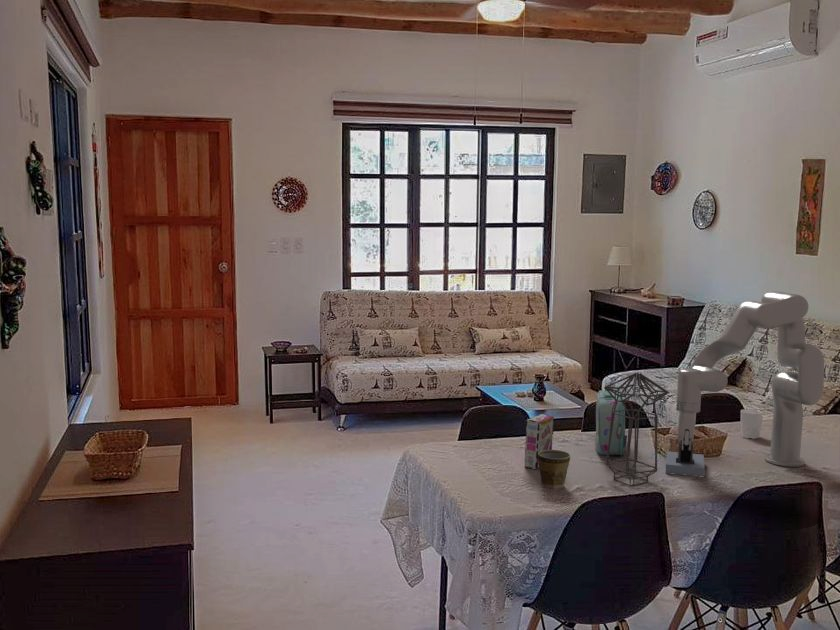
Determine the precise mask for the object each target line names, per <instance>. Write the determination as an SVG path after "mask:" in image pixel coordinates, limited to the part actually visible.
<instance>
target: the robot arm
mask: <svg viewBox="0 0 840 630" xmlns="http://www.w3.org/2000/svg"><path fill="white" fill-rule="evenodd" d="M808 311H809V302H808V300H807V299H806V298H805V297H804V296H802V295H800V294H795V293H788V292H785V291H777V290H776V291H774V290H773V291H768V292H766V293H764V294H763V295H762V297H761V301H757V300H747V301H746V300H745V301H743V302H742V303H741V304H740V305H739V306H738V307H737V309H736V311H735V312H734V313H733V315H732V316H731V318H730V320H729V321H728V324H727V325H726V327H725V328H724V330H723V332H722V334H721V335H720V336H719V337H718V338H716V339H715V340H712V341H711V342H710V343H709V344H708V345H707V346H705V347H704V348H703V349H701V351H700V352H698V355H696V357H695V359H694V361H693V362H692V364H691V366H690V367H689V368H688V367H687V368H681V369H679V371H678V373H677V389H676V407H675V409H676V411H678V412H679V413H678V423H677V441H678V442H679V441H680V440H682V450H681V457H680V461H681V462H690V461H691V450H690V448H691V442H693V443H694V437H695V430H696V421H697V420H696V418H697V414H698V413H700V412H701V404H702V403H701V401H702V400H701V399H702V392H709V393H718V392H721V391H723V390H725V389H726V387H727V385H728V377H727V375H726V374H725V372H723V371H721V370H719V369H717V368H714V367H715V365H717V363H718V362H719V361H720V360H722V359H724V358H726V357H727V356H730V355H734V354H737V353H740V352H742V351H744V350H745V348H746V347H747V345H748V344H749V342H750V340H751V339H752V337H753V335H754V334H755V332H756V331H757V329H758V328H759V329H763V330H771V329H775V328H776V329H777V347H776V348H777V350H776V351H777V352H776V353H777V355H776V356H777V362H778V363H779V365H780V366H781V367H783V368H787V369H790V371H789V370H788V371H787V370H783V371H780V372H778V373H777V374H776V375H775V376H774V377H773V378H772V382H771V393H772V398H773V399H772V401H773V404H772V405H773V406H772V407H773V408H772V409H773V410H772V421H771V422H772V424H771V437H770V449H769V453H767V454H765V456H764V460H765V461H766V462H768V463H769V464H773V465H776V466H779V467H780V466H781V467H789V468H792V467H793V468H795V467H798V468H799V467H802V466H804V465H805V463H806V462H805V459H803V458H802V457H801V448H802V436H803V435H802V434H803V424H804V423H803V422H804V409H803V405H804V406H814V405H816V404H818V403H819V402H820V401H821V399H822V396H823V394H824V386H825V385H824V381H825V356H824V353H823V352H822V350H821V349H820V348H819V347H817V346H816V345H813V344H809V343H806V327H805V322H804V319H803V318H804V317H805V316H806V315H807V314H808ZM791 370H793V371H797V372H793V371H791ZM683 440H685V441H683ZM684 443H685V444H684ZM688 443H689V444H688ZM683 447H684V448H683Z"/></svg>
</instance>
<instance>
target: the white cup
mask: <svg viewBox="0 0 840 630" xmlns="http://www.w3.org/2000/svg"><path fill="white" fill-rule="evenodd" d="M763 414H764V413H763V411H762V410H759V409H754V408H753V409H752V408H744V409H740V436H741V437H742V438H744V437H745V439H749V438H752V439H751V440H757V439H756V438H758V439H760V435H761V430H762V422H763V416H764V415H763Z"/></svg>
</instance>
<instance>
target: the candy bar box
mask: <svg viewBox="0 0 840 630" xmlns="http://www.w3.org/2000/svg"><path fill="white" fill-rule="evenodd" d="M554 417H555V416H553V415H550V414H549V415H548V414H543V413H541V414H538V415H536V416H534V417H531V418H528V419H526V427H525V428H526V429H525V446H524V466H526V467H525V468H527V467H530V468H529V469H531V468H534V469H533V470H535V469H537V470H538V468H539V469H540V467H539V462H538V452H540V451H543V450H553V433H554Z"/></svg>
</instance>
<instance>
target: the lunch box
mask: <svg viewBox="0 0 840 630" xmlns="http://www.w3.org/2000/svg"><path fill="white" fill-rule="evenodd" d="M619 391H620V392H622V390H621V389H620V390H619ZM610 392H611V391H610ZM614 392H615V391H614ZM611 394H612V395H613V396H614V397H615V394H614V393H612V392H611ZM617 394H618V392H617ZM619 395H620V393H619ZM621 398H622V400H624V399H623V398H624V397H621ZM616 399H617V395H616ZM618 400H621V399H620V397H619V398H618ZM614 402H615V400H614V398H613V397H612V396H611V395H610V394H609V393H608V391H607V390H598V393H597V394H596V402H595V403H596V404H595V405H596V406H595V426H596V427H595V437H594V442H595V449H596V451H597V453H598V454H599V455H606V456H607V452H608V443H609V433H610V424H611V414H612V412H613V411H614V408H613V405H614ZM615 403H616V402H615ZM614 407H615V405H614ZM612 408H613V411H612ZM619 410H626V409H625V407H624V405H623V403H622V402H617V405H616V409H615V411H619ZM611 411H612V412H611ZM615 413H617V414H620V415H624V416H626V411H621V412H615ZM617 414H615V415H614V423H613V430H612V436H611V443H610V450H609V456H610V455H611V456H615V455H616V456H623V455H624V452H625V448H627V441H628V434H626V417H623V416H620V415H617Z"/></svg>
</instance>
